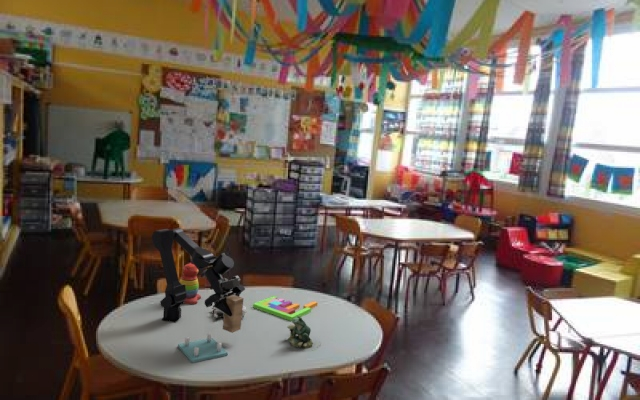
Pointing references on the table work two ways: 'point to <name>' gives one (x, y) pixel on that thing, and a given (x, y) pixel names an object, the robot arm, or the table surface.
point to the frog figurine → (300, 334)
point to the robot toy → (220, 313)
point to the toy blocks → (283, 308)
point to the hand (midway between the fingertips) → (235, 314)
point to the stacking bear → (190, 283)
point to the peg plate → (202, 349)
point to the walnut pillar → (233, 314)
